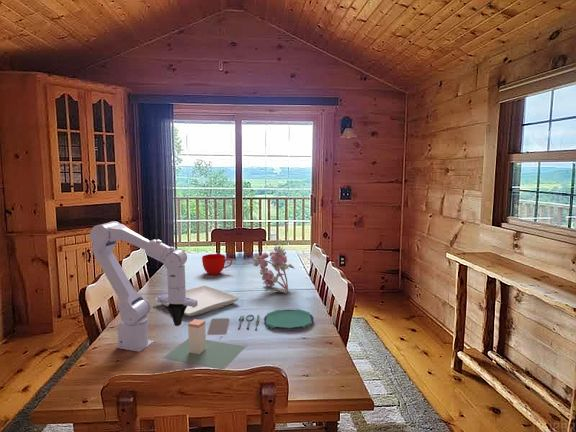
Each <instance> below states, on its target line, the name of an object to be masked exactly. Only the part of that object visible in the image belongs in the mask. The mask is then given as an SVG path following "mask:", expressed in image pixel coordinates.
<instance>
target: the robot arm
mask: <svg viewBox="0 0 576 432" xmlns="http://www.w3.org/2000/svg"><path fill="white" fill-rule="evenodd" d="M88 238H89V240H90V241H91V244H92V252H93V256H94V257H95V259H96V261H97V263H98V264H99V266H100V268H101V270H102V271H103V273H104V275H105V276H106V278H107V280H108V282H109V284H110V285H111V286H112V289H113V291H114V293H115V294H116V295H117V298H118V304H117V309H118V311H119V315H120V319H121V321H120V322H119V323H118V327H117V341H118V342H117V343H118V345H117V346H116V348H117V349H121V350H127V351H132V352H141V351H143V350H144V349H146V348H147V347H149V346H150V345H151V344H153V343H154V342H155V341H154V340H152V339H149V330H148V329H149V328H148V325H149V324H148V314H149V313H150V311H151V304H150V302H149V301H148V300H147V299H146V298H144V296H143V294H142V293H140V292H138V291H136V290H135V289H134V287H133V285H132V283H131V282H130V280H129V278H128V276H127V275H126V273H125V271H124V269H123V267H122V266H121V264H120V263H119V261H118V259H117V257H116V255H115V254H114V252H113V251H114V249H115V245H116V244H117V243H118V241H119V242H120V241H124V242H126V243H128V244H130V245H133V246H135V247H138V248H140V249H142V250H143V251H144V252H145V255H146V256H149V257H150V258H152V259H154V260H156V261H158V262H160V263H162V264H163V265H164V267H165V269H166V273H167V274H166V277H167V278H166V281H167V295H168V296H165V295H158V296H157V297H156V298H157V300H156V302H157V303H158V304H161V302H163V303H169V306H166V310H167V311H168V312H169V314H170V316H171V318H172V322H173V325H174V326H175V327H179V326H181V325H182V322H183V319H184V315H185V314H184V312H185V310H186V308H187V306H192V307H193V308H195V307H196V306H198V304H197V300H194V299H191V298H188V297H186V290H187V289H186V269H185V266H186V265H185V264H186V262H187V261H188V254H187V253H186V252H185V251H184V250H183V249H182V248H175V247H174V246H169V245H167V244H166V243H163V242H162V240H160V239H159V238H158V239H152V240H149V239H148V238H145V237H144V236H142V235H140V234H139V233H137V232H135V231H133V230H132V229H130V228H128V227H127V226H126V225H125V224H123V223H120V222H119V221H115V220H112V221H108V222H106V223H102V224H97V225H94V226H92V228H91V231H90V233H89V235H88Z"/></svg>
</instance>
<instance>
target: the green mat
mask: <svg viewBox="0 0 576 432" xmlns="http://www.w3.org/2000/svg"><path fill="white" fill-rule="evenodd" d="M245 348H246V346H244V345H241V344H239V345H238V344H233V343H226V342H220V341H215V340H210V339H206V349H205V350H204V351H203V352H202V353H200V354H196V353H190V352H189V338H187V339H186V340H184V341H183V342H182V343H180V344H179V345H178V346H176V347H175V348H174V349H173V350H171V351H170V352H168V353H167V354H165V355H164V356H163V357H162V359H167V360H172V361H176V362H182V363H188V364H192V365H198V366H203V367H208V368H213V369H219V370H223V369H224V370H225V369H226V368H227V367H228V366H229V364H231V363H232V361H234V359H235V358H236V357H238V355H239V354H240V353H241V352H242V351H243V350H245Z"/></svg>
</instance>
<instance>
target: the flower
mask: <svg viewBox="0 0 576 432" xmlns="http://www.w3.org/2000/svg"><path fill="white" fill-rule="evenodd" d="M283 248H284V246H283V245H282V246H281V245H279V246H275V247H274V249H273V250H274V251H270V252H269V254H268V253H267V252H262V254H261V255H259V253H257V252H256V253H254V254H253V256H252V258H253V259H252V258H249V260H250V261H252V266H254V267H258V266H259V267H260V270H259V274H260V275H261V279H262V281H263V282H262V284H263V285H266V287H268V286H269V287H274V286H275V284H276V283H278V285H279V286H281V287H282V288H274V289H271V290H270V291H269V293H271V292H280V293H288V294H290V295H291V291H290V290H289V287H288V285H289V284H288V277H287V273H286V270H287V271H289V270H290V269H289V268H291V269H294V270H296V268H295V266H294V265H292V264H291V263H289V264H288V263H287V261H288V259H287V258H288V256H287V255H286V254H287V251H285V250H286V248H284V249H283ZM269 257H270V259H269V260H265V259H268V258H269ZM269 264H270V265H271V266H272V268H274V271H276V272H277V273H276V275H275V274H274V272H273V271H272V270H271V269H269V268H268V267H267V266H268V265H269ZM280 270H281V271H282V272H283V273H281V271H280ZM283 275H284V278H283ZM279 277H280V279H281V280H282V283H283V284H282V283H281V282H280V281H278V280H279ZM284 279H285V280H284Z"/></svg>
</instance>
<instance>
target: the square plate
mask: <svg viewBox="0 0 576 432" xmlns="http://www.w3.org/2000/svg"><path fill="white" fill-rule="evenodd" d="M164 296H168V294H164ZM186 297H188V298H191V299H194V300H197V304H198V306H196V307H195V308H193V307H192V306H187V308H186V310H185V312H184V315H185V316H187V317H194V316H197V315H201V314H204V313H208V312H211V311H214V310H217V309H219V308H223V307H225V306H227V305H231V304H233V303H236V302H237V301H239V299H240V297H239V296H237V295H234V294H232V293H229V292H226V291H224V290H223V291H222V290H221V289H217V288H215V287H211V286H208V285H202V286H197V287H191V288H189V289H186ZM154 300H155V301H157V297H155V298H154ZM160 304H161V305H163V306H166V307H167V306H169V303H163V302H161V303H160Z"/></svg>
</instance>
